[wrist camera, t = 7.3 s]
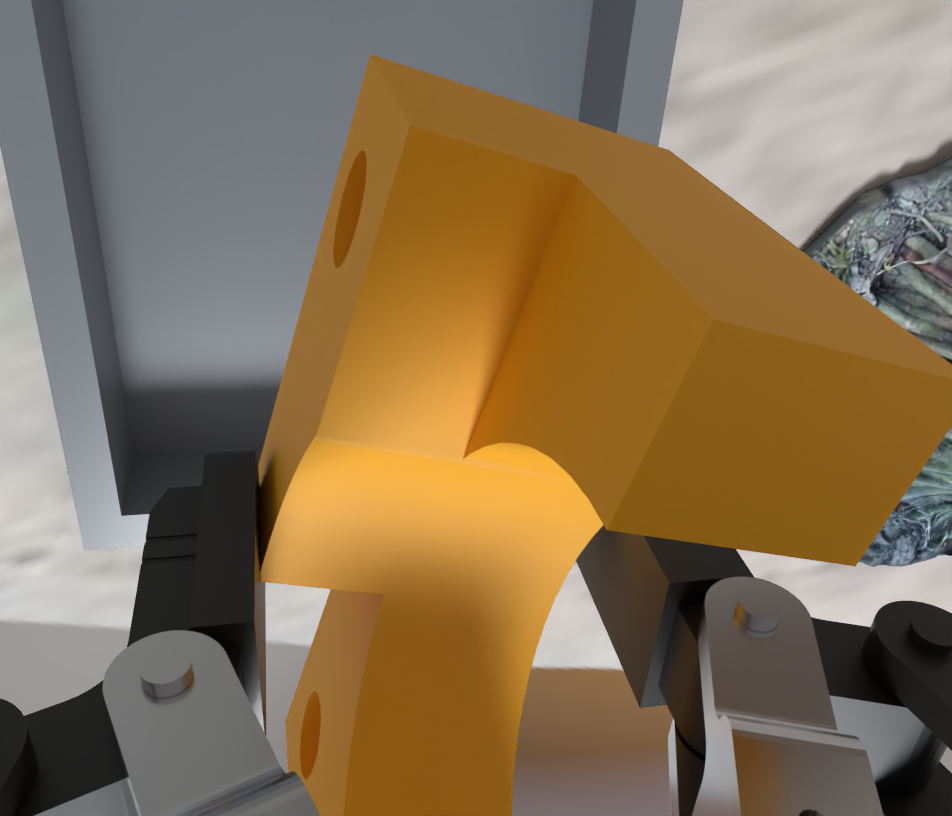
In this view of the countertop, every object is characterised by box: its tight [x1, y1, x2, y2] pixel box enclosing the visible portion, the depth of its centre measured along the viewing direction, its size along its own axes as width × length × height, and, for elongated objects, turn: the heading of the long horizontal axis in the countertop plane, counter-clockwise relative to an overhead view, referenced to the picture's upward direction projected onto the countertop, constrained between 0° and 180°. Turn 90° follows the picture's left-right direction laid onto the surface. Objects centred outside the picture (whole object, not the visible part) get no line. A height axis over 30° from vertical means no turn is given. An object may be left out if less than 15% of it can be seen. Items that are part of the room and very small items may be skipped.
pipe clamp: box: [258, 54, 952, 816], centre depth 12 cm, size 12×4×6 cm, turn 160°
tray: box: [0, 0, 683, 550], centre depth 25 cm, size 16×20×4 cm
